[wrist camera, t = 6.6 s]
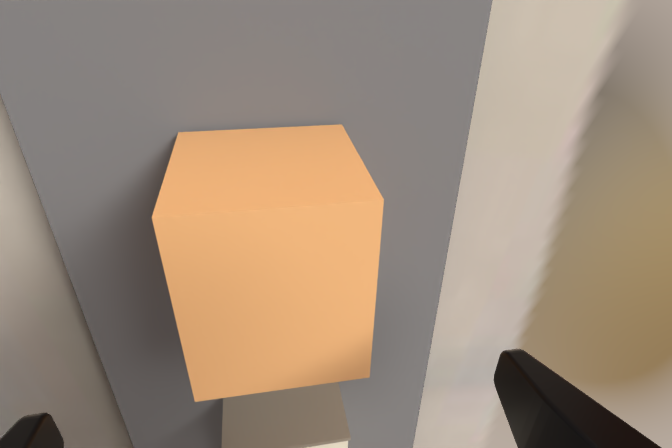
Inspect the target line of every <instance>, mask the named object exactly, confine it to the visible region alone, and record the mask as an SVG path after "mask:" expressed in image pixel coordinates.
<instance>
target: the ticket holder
mask: <svg viewBox="0 0 672 448" xmlns="http://www.w3.org/2000/svg"><path fill="white" fill-rule="evenodd" d="M491 5H492V0H0V95H1V97H2V100H3V103H4V105H5V108H6V110H7V113H8V116H9V118H10V121H11V124H12V126H13V129H14V132H15V134H16V137H17V140H18V142H19V145H20V148H21V150H22V153H23V155H24V158H25V161H26V163H27V166H28V169H29V171H30V174H31V177H32V179H33V182H34V185H35V187H36V190H37V193H38V195H39V198H40V200H41V203H42V206H43V208H44V211H45V214H46V216H47V219H48V222H49V224H50V227H51V230H52V232H53V235H54V238H55V240H56V243H57V245H58V248H59V251H60V253H61V256H62V259H63V261H64V264H65V267H66V269H67V272H68V275H69V277H70V280H71V283H72V285H73V288H74V290H75V293H76V296H77V298H78V301H79V304H80V306H81V309H82V312H83V314H84V317H85V320H86V322H87V325H88V328H89V330H90V333H91V335H92V338H93V341H94V343H95V346H96V349H97V351H98V354H99V357H100V359H101V362H102V365H103V367H104V370H105V373H106V375H107V378H108V380H109V383H110V386H111V388H112V391H113V394H114V396H115V399H116V402H117V404H118V407H119V410H120V412H121V415H122V418H123V420H124V423H125V425H126V428H127V431H128V433H129V436H130V439H131V441H132V444H133V447H134V448H413V443H414V438H415V432H416V426H417V421H418V415H419V409H420V404H421V398H422V393H423V387H424V381H425V376H426V370H427V365H428V359H429V353H430V348H431V342H432V337H433V331H434V325H435V320H436V314H437V308H438V303H439V297H440V292H441V286H442V280H443V275H444V269H445V264H446V258H447V252H448V247H449V241H450V235H451V230H452V224H453V219H454V213H455V207H456V202H457V196H458V191H459V185H460V179H461V174H462V168H463V163H464V157H465V151H466V146H467V140H468V134H469V129H470V123H471V118H472V112H473V106H474V101H475V95H476V90H477V84H478V78H479V73H480V67H481V61H482V56H483V50H484V45H485V39H486V33H487V28H488V22H489V17H490V11H491ZM340 124H342V125H343V127H344V129H345V131H346V133H347V134H348V136H349V138H350V140H351V142H352V143H353V145H354V147H355V149H356V151H357V152H358V154H359V156H360V158H361V159H362V161H363V163H364V165H365V167H366V168H367V170H368V172H369V174H370V176H371V177H372V179H373V181H374V183H375V185H376V186H377V188H378V190H379V192H380V194H381V195H382V197H383V199H384V205H383V217H382V230H381V242H380V255H379V267H378V279H377V292H376V304H375V316H374V329H373V341H372V353H371V366H370V377H369V378H362V379H355V380H348V381H341V382H334V383H326V384H319V385H312V386H305V387H298V388H291V389H284V390H277V391H269V392H262V393H255V394H248V395H241V396H234V397H227V398H219V399H212V400H205V401H198V402H195V400H194V396H193V392H192V387H191V383H190V379H189V375H188V370H187V366H186V362H185V357H184V353H183V349H182V345H181V340H180V336H179V332H178V328H177V323H176V319H175V315H174V311H173V306H172V302H171V298H170V294H169V289H168V285H167V281H166V277H165V272H164V268H163V264H162V259H161V255H160V251H159V247H158V242H157V238H156V234H155V230H154V225H153V221H152V215H153V211H154V208H155V205H156V202H157V199H158V196H159V192H160V189H161V186H162V183H163V180H164V176H165V173H166V170H167V167H168V164H169V161H170V157H171V154H172V151H173V148H174V145H175V141H176V138H177V135H178V132H194V131H215V130H236V129H257V128H277V127H298V126H319V125H340Z"/></svg>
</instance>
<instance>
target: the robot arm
mask: <svg viewBox="0 0 672 448" xmlns="http://www.w3.org/2000/svg"><path fill="white" fill-rule="evenodd" d="M494 384H495V387H496V390H497V393H498V396H499V398H500V401H501V404H502V406H503V409H504V412H505V414H506V417H507V420H508V422H509V425H510V428H511V431H512V433H513V436H514V439H515V441H516V444H517V446H518V448H661V447H660V446H658V445H657V444H655V443H654V442H653V441H651V440H650V439H648V438H647V437H646V436H644V435H643V434H641V433H640V432H638V431H637V430H636V429H634V428H633V427H631V426H630V425H629V424H627V423H626V422H624V421H623V420H621V419H620V418H619V417H617V416H616V415H614V414H613V413H611V412H610V411H609V410H607V409H606V408H604V407H603V406H602V405H600V404H599V403H597V402H596V401H595V400H593V399H592V398H590V397H589V396H588V395H586V394H585V393H583V392H582V391H580V390H579V389H577V388H576V387H575V386H573V385H572V384H571V383H569V382H568V381H566V380H565V379H563V378H562V377H560V376H559V375H558V374H556V373H555V372H553V371H552V370H551V369H549V368H548V367H547V366H545V365H544V364H542V363H541V362H539V361H538V360H537V359H535V358H534V357H532V356H531V355H530V354H528V353H527V352H525V351H524V350H521V349H513V350H505V351H503V352H502V353H501V354H500V357H499V361H498V364H497V367H496V371H495V374H494ZM0 448H64V442H63V438H62V436H61V434H60V432H59V430H58V428H57V426H56V424H55V422H54V420H53V418H52V416H51V415H50V414H48V413H39V414H32V415H27V416H24V417H22V418H21V419H19V420H18V421H17V422H16V423H15V424H14V425H13V426H12V427H11V428H10V430H9V431H8V432H7V433H6V434H5V435H4V436H3V437H2V438H1V439H0Z"/></svg>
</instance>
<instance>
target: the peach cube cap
mask: <svg viewBox="0 0 672 448" xmlns="http://www.w3.org/2000/svg"><path fill="white" fill-rule="evenodd" d="M383 205H384V199H383V197H382V195H381V194H380V192H379V190H378V188H377V186H376V185H375V183H374V181H373V179H372V177H371V176H370V174H369V172H368V170H367V168H366V167H365V165H364V163H363V161H362V159H361V158H360V156H359V154H358V152H357V151H356V149H355V147H354V145H353V143H352V142H351V140H350V138H349V136H348V134H347V133H346V131H345V129H344V127H343V125H342V124H340V125H319V126H298V127H277V128H257V129H236V130H215V131H194V132H178V135H177V138H176V141H175V145H174V148H173V151H172V154H171V157H170V161H169V164H168V167H167V170H166V173H165V176H164V180H163V183H162V186H161V189H160V192H159V196H158V199H157V202H156V205H155V208H154V211H153V215H152V221H153V225H154V230H155V234H156V238H157V242H158V247H159V251H160V255H161V259H162V264H163V268H164V272H165V277H166V281H167V285H168V289H169V294H170V298H171V302H172V306H173V311H174V315H175V319H176V323H177V328H178V332H179V336H180V340H181V345H182V349H183V353H184V357H185V362H186V366H187V370H188V375H189V379H190V383H191V387H192V392H193V396H194V400H195V402H198V401H205V400H212V399H219V398H227V397H234V396H241V395H248V394H255V393H262V392H269V391H277V390H284V389H291V388H298V387H305V386H312V385H319V384H326V383H334V382H341V381H348V380H355V379H362V378H369V377H370V366H371V353H372V341H373V329H374V316H375V304H376V292H377V279H378V267H379V255H380V242H381V230H382V217H383Z"/></svg>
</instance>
